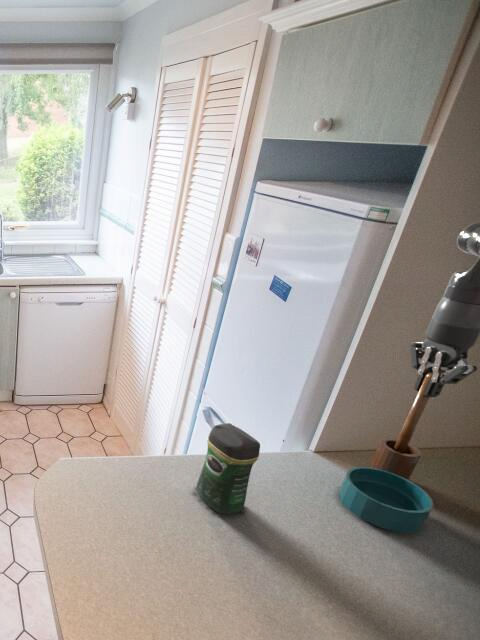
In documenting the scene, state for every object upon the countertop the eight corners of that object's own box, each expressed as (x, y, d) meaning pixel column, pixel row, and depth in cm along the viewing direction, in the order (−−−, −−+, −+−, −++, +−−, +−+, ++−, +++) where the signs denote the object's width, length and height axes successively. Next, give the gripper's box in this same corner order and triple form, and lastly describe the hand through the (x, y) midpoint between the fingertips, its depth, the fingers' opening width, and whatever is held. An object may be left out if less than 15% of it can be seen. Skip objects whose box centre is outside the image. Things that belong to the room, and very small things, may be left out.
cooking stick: (394, 460, 109) (434, 371, 99) (401, 465, 107) (442, 375, 97) (385, 459, 109) (424, 371, 99) (392, 465, 107) (432, 375, 97)
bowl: (386, 488, 106) (396, 467, 104) (440, 536, 93) (453, 514, 91) (323, 486, 107) (331, 465, 105) (368, 533, 94) (378, 511, 92)
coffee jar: (249, 512, 100) (271, 442, 92) (219, 519, 98) (239, 448, 90) (217, 483, 108) (234, 417, 101) (188, 489, 106) (204, 422, 99)
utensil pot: (390, 468, 113) (404, 438, 109) (414, 488, 106) (430, 457, 102) (360, 467, 113) (372, 437, 109) (382, 487, 106) (396, 456, 103)
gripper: (511, 333, 87) (472, 410, 94) (446, 309, 99) (416, 379, 106) (470, 332, 87) (434, 409, 94) (410, 309, 100) (382, 378, 107)
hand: (424, 393), depth 100 cm, fingers closed on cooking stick, 2 cm apart
